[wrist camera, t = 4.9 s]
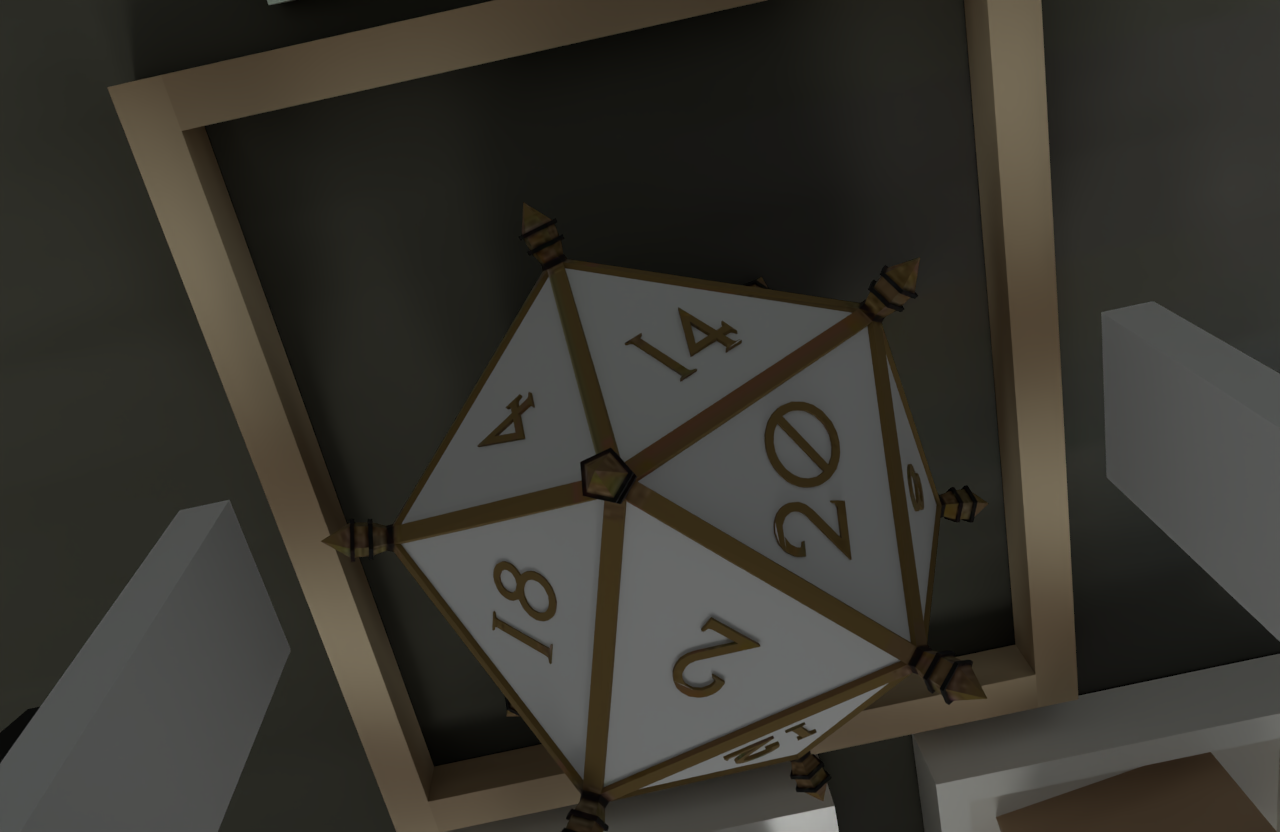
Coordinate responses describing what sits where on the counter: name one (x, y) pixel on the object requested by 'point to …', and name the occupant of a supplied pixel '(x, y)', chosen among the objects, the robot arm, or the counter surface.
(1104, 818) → the block
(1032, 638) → the oak frame
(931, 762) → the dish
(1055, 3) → the counter surface
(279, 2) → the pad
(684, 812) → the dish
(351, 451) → the counter surface
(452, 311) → the counter surface
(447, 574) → the game die
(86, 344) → the counter surface
